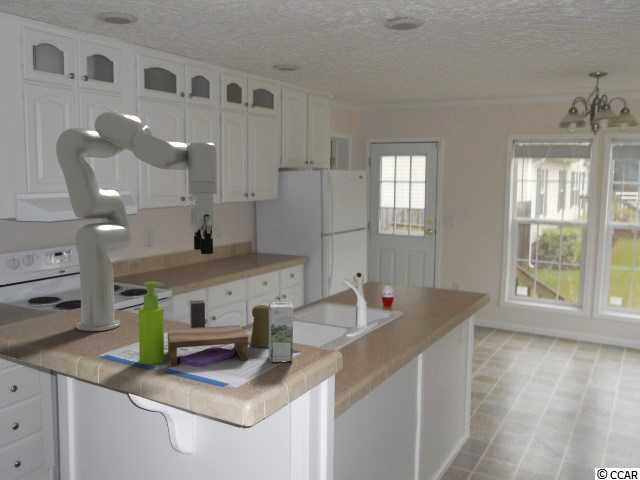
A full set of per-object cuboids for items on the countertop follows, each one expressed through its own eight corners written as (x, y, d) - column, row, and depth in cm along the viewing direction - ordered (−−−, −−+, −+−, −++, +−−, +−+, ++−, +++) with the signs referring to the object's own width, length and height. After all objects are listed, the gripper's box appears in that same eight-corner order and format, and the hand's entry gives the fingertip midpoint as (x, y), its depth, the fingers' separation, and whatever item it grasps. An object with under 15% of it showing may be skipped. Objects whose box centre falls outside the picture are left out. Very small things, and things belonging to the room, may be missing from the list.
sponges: (180, 364, 141) (179, 357, 141) (214, 351, 152) (214, 345, 152) (200, 369, 138) (200, 362, 137) (234, 356, 148) (234, 349, 148)
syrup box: (290, 355, 148) (290, 300, 146) (293, 362, 142) (293, 306, 140) (268, 356, 147) (268, 301, 145) (270, 363, 141) (270, 306, 140)
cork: (268, 348, 154) (268, 308, 152) (247, 347, 155) (247, 307, 154) (274, 342, 159) (275, 304, 158) (254, 341, 161) (254, 302, 159)
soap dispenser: (154, 366, 138) (153, 285, 136) (134, 361, 141) (132, 282, 139) (172, 359, 143) (171, 281, 141) (152, 355, 146) (150, 278, 144)
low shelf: (167, 352, 149) (167, 329, 149) (239, 346, 155) (239, 325, 155) (170, 366, 138) (170, 342, 137) (247, 359, 144) (247, 336, 143)
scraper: (185, 330, 171) (184, 301, 170) (208, 329, 173) (208, 300, 172) (189, 345, 156) (189, 313, 155) (215, 343, 158) (215, 311, 157)
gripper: (183, 188, 160) (184, 248, 162) (194, 189, 144) (195, 256, 146) (210, 188, 163) (210, 247, 164) (223, 189, 147) (224, 255, 149)
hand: (203, 251), depth 155 cm, fingers open, 9 cm apart
